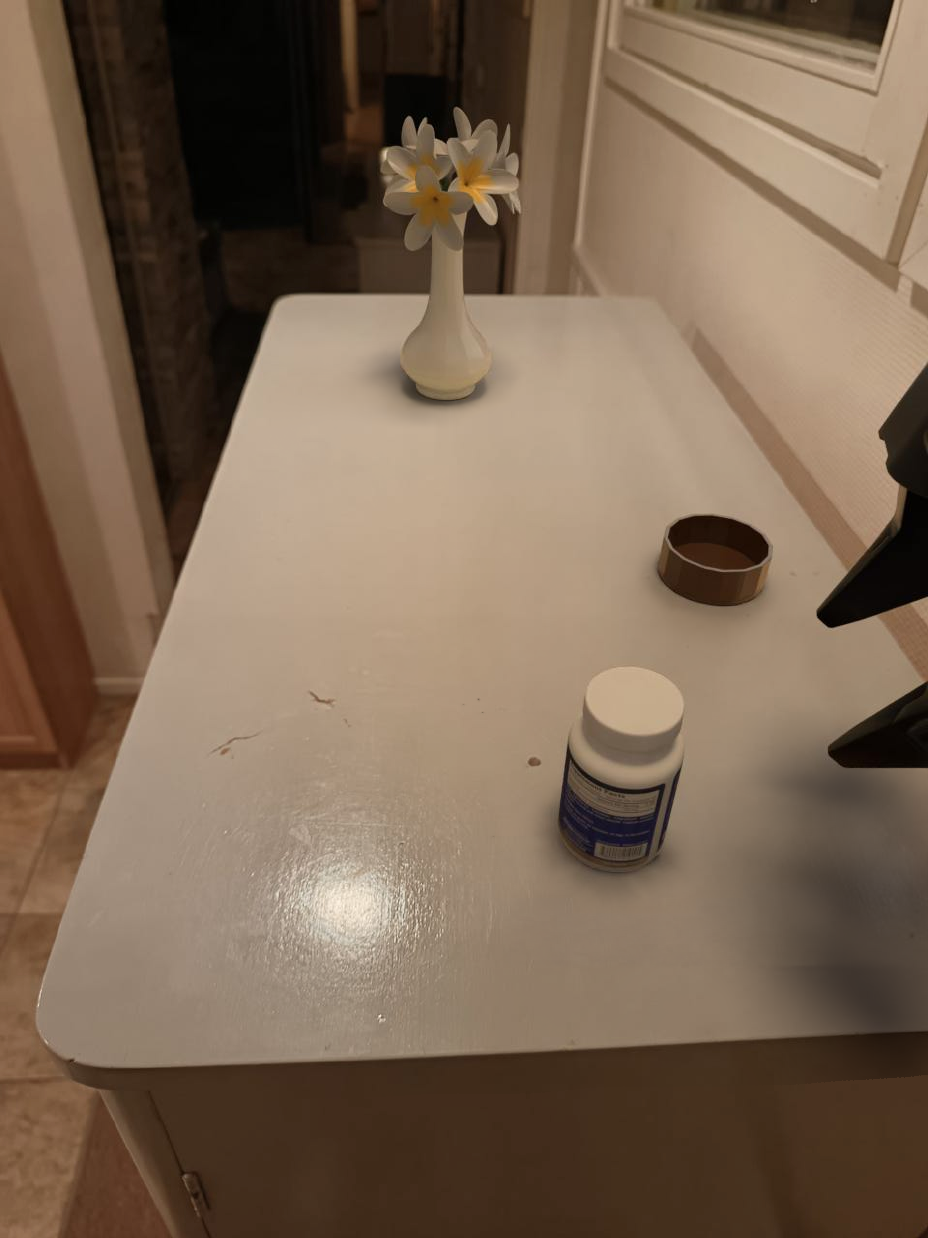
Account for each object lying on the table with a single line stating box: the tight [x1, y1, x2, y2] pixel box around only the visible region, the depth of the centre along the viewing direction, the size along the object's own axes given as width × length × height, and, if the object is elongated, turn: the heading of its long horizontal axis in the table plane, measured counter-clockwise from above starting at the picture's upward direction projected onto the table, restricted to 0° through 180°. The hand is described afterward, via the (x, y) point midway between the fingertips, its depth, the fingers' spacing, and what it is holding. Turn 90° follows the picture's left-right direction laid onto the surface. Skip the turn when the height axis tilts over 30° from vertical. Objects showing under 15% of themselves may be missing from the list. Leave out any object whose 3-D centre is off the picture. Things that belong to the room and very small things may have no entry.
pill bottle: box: [557, 666, 685, 873], centre depth 44 cm, size 6×6×10 cm
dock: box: [657, 512, 774, 606], centre depth 66 cm, size 8×8×3 cm
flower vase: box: [380, 106, 522, 401], centre depth 84 cm, size 13×18×25 cm
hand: (827, 683), depth 38 cm, fingers open, 9 cm apart
